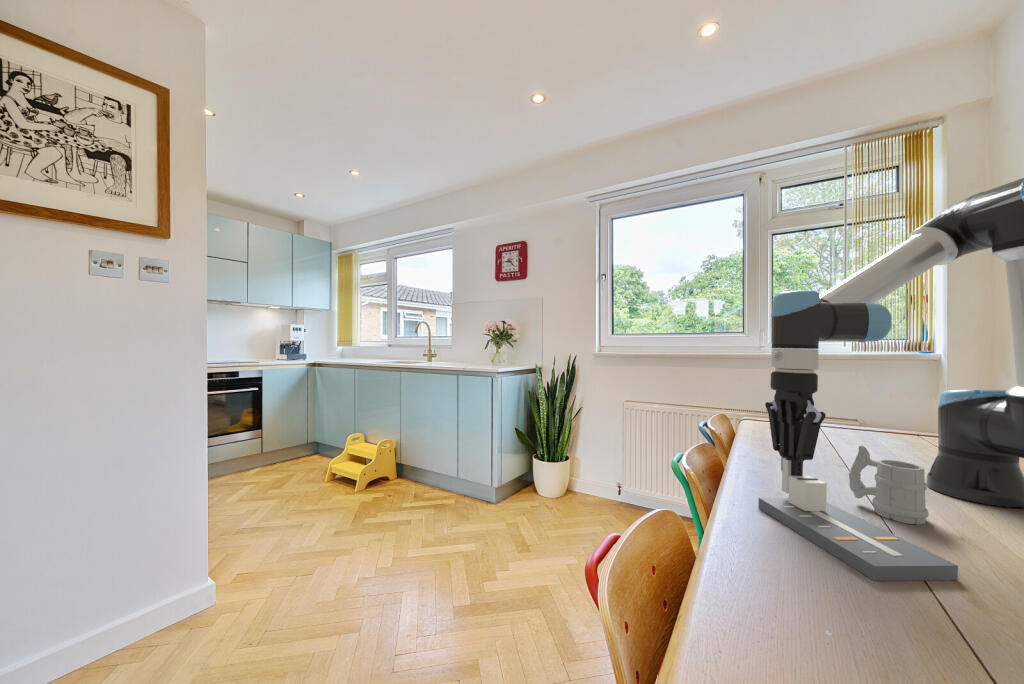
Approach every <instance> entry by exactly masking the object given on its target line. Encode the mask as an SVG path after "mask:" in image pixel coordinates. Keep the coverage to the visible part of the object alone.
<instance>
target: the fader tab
mask: <svg viewBox="0 0 1024 684" xmlns="http://www.w3.org/2000/svg"><path fill="white" fill-rule="evenodd" d="M827 484H828V483H827V482H825V481H822V480H820V479H819V478H817V477H813V476H810V475H803V476H789V493H788V498H789V503H791V504H793V505H795V506H796V507H798V508H800V509H802V510H804V511H826V502H827V496H828V495H827V493H828V492H827V490H828V489H827V488H828V485H827Z"/></svg>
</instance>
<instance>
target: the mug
mask: <svg viewBox="0 0 1024 684" xmlns="http://www.w3.org/2000/svg"><path fill="white" fill-rule="evenodd" d="M867 466H871V467H873V468H874V467H876V473H875V475H874V480H875V486H866V485H865V484H864V482H863V481H862V480H861V477H862V476H861V475H862V471H863V469H865V468H866V467H867ZM848 477H849V478H848V480H849V482H848V483H849V489H850V491H852V492H853V496H854V497H855V498H856V499H862V498H863V497H865V496H874V497H873V498H872V502H871V503H872V506H873V507H874V509H873V511H874V513H876V515H879V516H880V517H883V518H884V519H887V520H892V521H894V522H899V523H904V524H907V525H908V524H909V525H918V526H919V525H925V524H926V523H927V518H928V517H929V510H928V509H927V507H926V490H927V489H928V486H927V482H925V481H926V478H925V469H924V467H923V466H920V465H918V464H915V463H911V462H906V461H902V460H893V459H879V460H874V459H871V454H870V451H868V449H867V447H866V446H864V445H862V444H861V445H858V452H857V455H856V457H855V458H854V461H853V462H852V464H851V467H850V470H849V472H848Z"/></svg>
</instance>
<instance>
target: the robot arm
mask: <svg viewBox="0 0 1024 684" xmlns="http://www.w3.org/2000/svg"><path fill="white" fill-rule="evenodd" d="M987 249H991V254H992V255H993V256H995V257H997V258H998V259H1001V260H1003V261H1004V263H1005V270H1006V279H1007V281H1006V282H1007V292H1008V301H1009V313H1010V323H1011V333H1012V345H1013V346H1012V347H1013V356H1014V357H1013V358H1014V368H1015V378H1016V384H1014V386H1012V387H1010V388H1008V389H947V390H945V391H942V392H941V393H940V395H939V403H938V406H937V414H938V415H937V421H938V423H937V425H938V427H937V428H938V429H937V430H938V432H937V433H938V437H937V439H938V441H937V442H938V443H937V444H938V451H937V456H936V457H935V459H934V461H933V463H932V465H931V467H930V470H929V472H928V473H927V475H926V484H927V488H929V489H931V490H934V491H936V492H938V493H941V494H943V495H946V496H950V497H953V498H958V499H961V500H965V501H969V502H974V503H979V504H983V505H989V506H990V505H991V506H995V505H996V507H1002V506H1008V507H1007V508H1012V507H1024V474H1023V471H1022V470H1021V467H1020V458H1021V459H1024V177H1022V178H1020V179H1016V180H1014V181H1011V182H1008V183H1005V184H1003V185H999V186H997V187H994V188H991V189H988V190H985V191H982V192H979V193H975V194H973V195H970V196H969V197H967V198H964V199H962V200H961V201H958V202H956V203H955V204H953V205H952V206H950V207H949V208H947V209H945V210H943V211H942V212H940V213H939V214H937V215H936V216H934V217H932V218H931V219H929V220H928V221H927V222H925V223H924V224H922V225H921V226H919V227H917V228H916V229H914V230H912V231H911V232H910V233H909V234H908V236H907V239H906V241H903V242H902V243H901V244H899V245H897V246H896V247H894V248H892V250H889V251H888V252H886V253H885V254H883V255H882V256H880V257H879V258H877V259H875V260H874V261H872V262H871V263H869V264H867V265H866V266H864V267H863V268H861V269H859V270H858V271H856V272H854V273H853V274H852V275H850V276H849V277H847V278H845V279H844V280H842V281H841V282H839V283H837V284H836V285H834V286H833V287H831V288H830V289H828V290H826V291H825V292H823V293H822V294H820V293H819V292H818V291H816V290H815V291H814V290H788V291H782V292H778V293H776V294H775V295H774V297H773V300H772V306H771V307H772V308H771V314H770V317H771V360H770V361H771V364H770V367H771V368H772V369H774V371H771V372H770V389H771V390H773V391H775V394H774V396H773V398H774V399H773V400H772V401H765V408H766V411H767V415H768V420H769V428H770V435H771V436H770V437H771V443H772V448H773V451H776V452H778V454H779V456H780V458H781V462H780V464H781V465H780V466H781V467H780V468H781V469H780V471H781V472H782V473H781V476H782V477H781V492H784V493H786V494H789V476H804V475H803V474H804V473H803V472H804V461H812V460H814V457H815V456H814V455H815V450H816V446H817V442H818V439H819V433H820V430H821V429H820V428H821V425H822V423H823V422H824V420H825V419H826V415H827V414H826V413H825V412H824V411H819V410H818V409H817V408H816V407H815V401H814V398H813V394H815V393H817V392H818V387H819V375H818V374H817V373H815V371H818V370H819V345H820V343H819V342H828V343H829V342H833V343H834V342H838V343H839V342H841V343H842V342H843V343H845V342H847V343H849V342H850V343H851V342H853V343H855V342H856V343H857V342H859V343H863V344H864V343H865V342H866V343H868V342H871V343H872V342H874V343H875V342H879V341H881V340H883V339H884V338H885V337H887V335H888V334H889V333H890V331H891V330H892V329H891V328H892V322H893V318H892V314H891V312H890V311H889V309H888V308H887V307H886V306H885V305H883V304H880V303H877V302H879V301H881V300H883V299H884V298H885V297H887V296H888V295H890V294H891V293H894V292H895V291H896V290H898V289H899V288H901V287H903V286H904V285H907V284H908V283H910V282H911V281H913V280H914V279H917V277H920V276H921V275H923V274H924V273H926V272H927V271H929V270H930V269H932V268H934V267H936V266H945V265H947V264H950V263H951V262H953V261H955V260H956V259H958V258H960V257H963V256H965V255H969V254H972V253H975V252H979V251H982V250H987Z"/></svg>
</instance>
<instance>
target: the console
mask: <svg viewBox="0 0 1024 684" xmlns="http://www.w3.org/2000/svg"><path fill="white" fill-rule="evenodd" d="M757 503H758V509H759V510H761V511H763V512H764V513H766V514H768V515H770V516H771V517H772V518H773V519H776V520H777V521H779V522H780V523H782V524H783V525H785V526H786V527H788V528H790V529H791V530H792V531H795V532H796V533H798V534H799V535H801V536H803V537H804V538H806V539H807V540H808V541H811V542H812V543H813V544H814V545H817V546H819V547H820V548H822V549H823V550H825V551H826V552H828V553H829V554H831V555H833V556H834V557H836V558H838V559H839V560H841V561H842V562H843V563H845V564H847V565H848V566H850V567H852V568H853V569H855V570H856V571H858V572H859V573H861V574H862V575H865V576H866V577H868V578H869V579H871V580H873V581H874V582H884V581H885V582H890V581H891V582H893V581H894V582H899V581H901V582H902V581H903V582H904V581H905V582H907V581H908V582H909V581H912V582H913V581H914V582H915V581H958V580H959V578H958V577H959V565H958V564H955V563H954V562H951V561H949V560H947V559H946V558H943V557H941V556H939V555H937V554H935V553H932V552H931V551H929V550H927V549H925V548H922V547H921V546H919V545H916V544H915V543H912V542H910V541H908V540H906V539H904V538H902V537H900V536H898V535H895V534H893V533H892V532H890V531H887V530H885V529H883V528H881V527H879V526H877V525H875V524H873V523H871V522H868V521H866V520H865V519H862V518H861V517H859V516H857V515H855V514H852V513H851V512H848V511H846V510H844V509H842V508H840V507H837V506H835V505H834V504H832V503H829V502H828V501H826V511H804V510H802V509H800V508H798V507H796V506H795V505H793V504H791V503H789V497H758V502H757Z"/></svg>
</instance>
